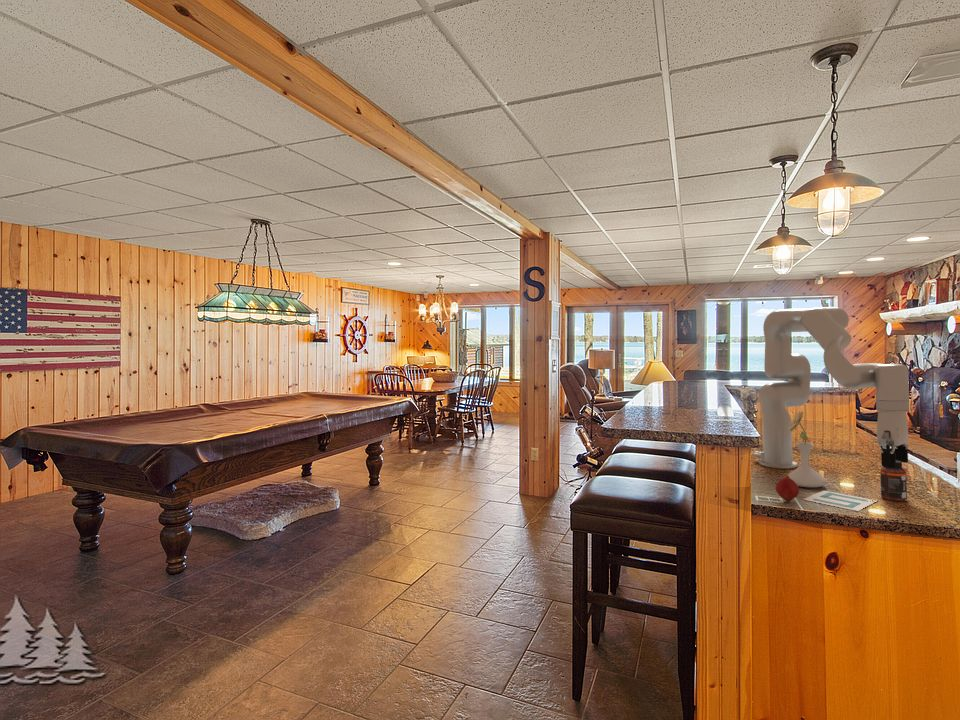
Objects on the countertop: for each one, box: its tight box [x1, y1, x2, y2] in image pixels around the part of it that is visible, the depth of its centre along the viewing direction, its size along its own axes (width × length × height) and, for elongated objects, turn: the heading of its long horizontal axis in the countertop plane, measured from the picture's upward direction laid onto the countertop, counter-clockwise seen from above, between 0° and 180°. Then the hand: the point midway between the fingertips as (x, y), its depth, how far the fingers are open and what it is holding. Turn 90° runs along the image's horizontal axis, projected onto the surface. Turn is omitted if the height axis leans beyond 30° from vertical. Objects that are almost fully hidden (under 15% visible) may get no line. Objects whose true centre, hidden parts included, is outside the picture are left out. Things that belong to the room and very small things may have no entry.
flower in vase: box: [787, 410, 828, 488], centre depth 163 cm, size 13×11×25 cm
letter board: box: [802, 490, 878, 512], centre depth 147 cm, size 14×14×1 cm
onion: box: [775, 474, 800, 503], centre depth 148 cm, size 6×6×8 cm
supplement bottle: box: [879, 460, 908, 502], centre depth 147 cm, size 6×6×11 cm
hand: (895, 464), depth 146 cm, fingers open, 9 cm apart
